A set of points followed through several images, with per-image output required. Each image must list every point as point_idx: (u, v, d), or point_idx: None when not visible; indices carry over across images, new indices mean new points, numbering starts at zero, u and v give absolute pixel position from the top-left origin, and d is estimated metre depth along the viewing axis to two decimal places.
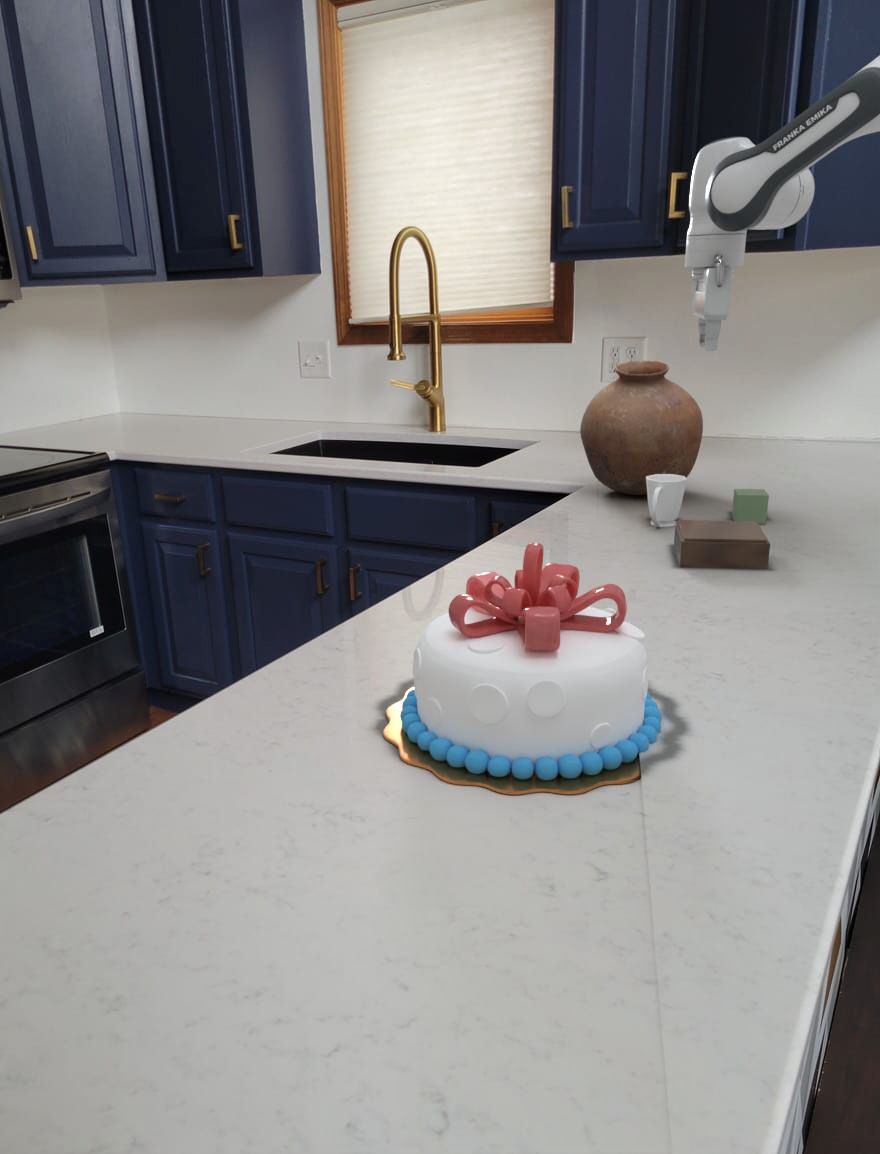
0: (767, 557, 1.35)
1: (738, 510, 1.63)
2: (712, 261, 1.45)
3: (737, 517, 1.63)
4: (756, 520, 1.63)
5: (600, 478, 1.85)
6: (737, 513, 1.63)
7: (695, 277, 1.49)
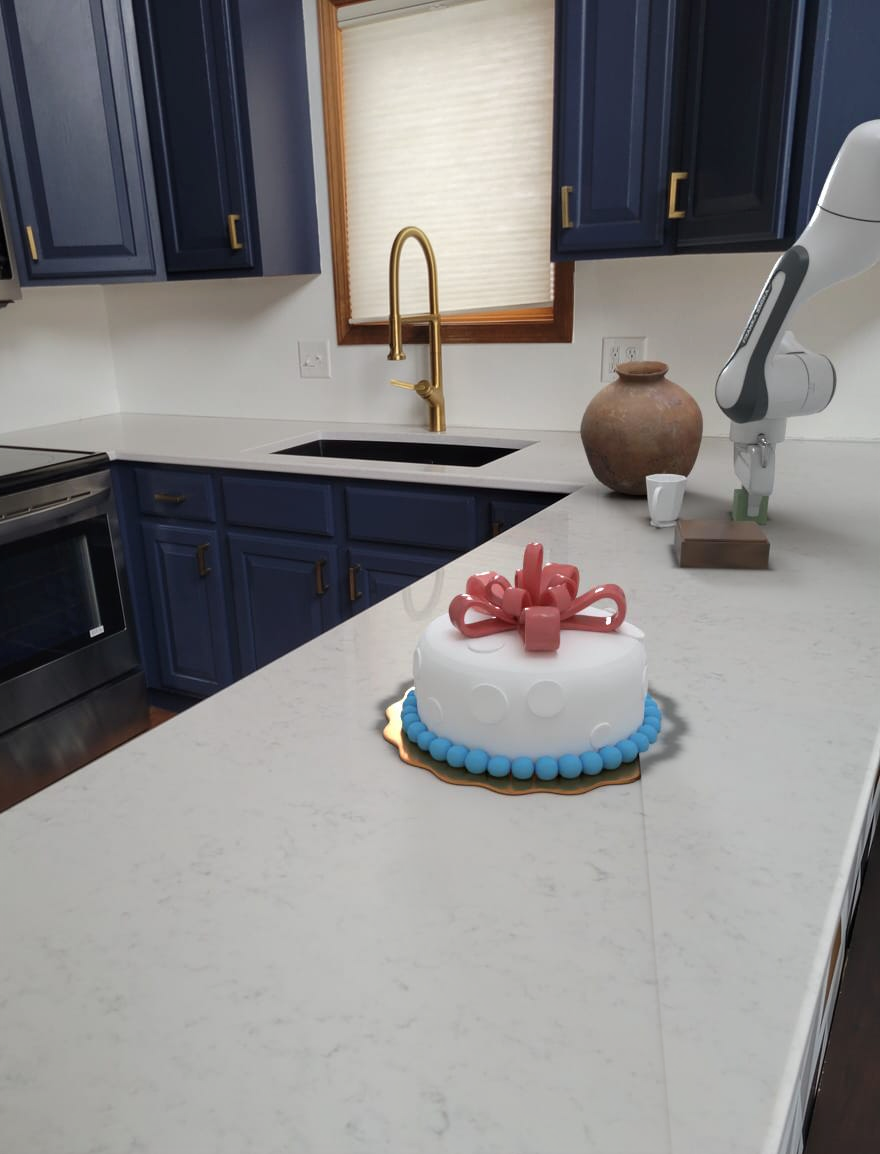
0: (767, 557, 1.35)
1: (738, 510, 1.63)
2: (756, 439, 1.57)
3: (737, 517, 1.63)
4: (756, 520, 1.63)
5: (600, 478, 1.85)
6: (737, 513, 1.63)
7: (739, 450, 1.60)
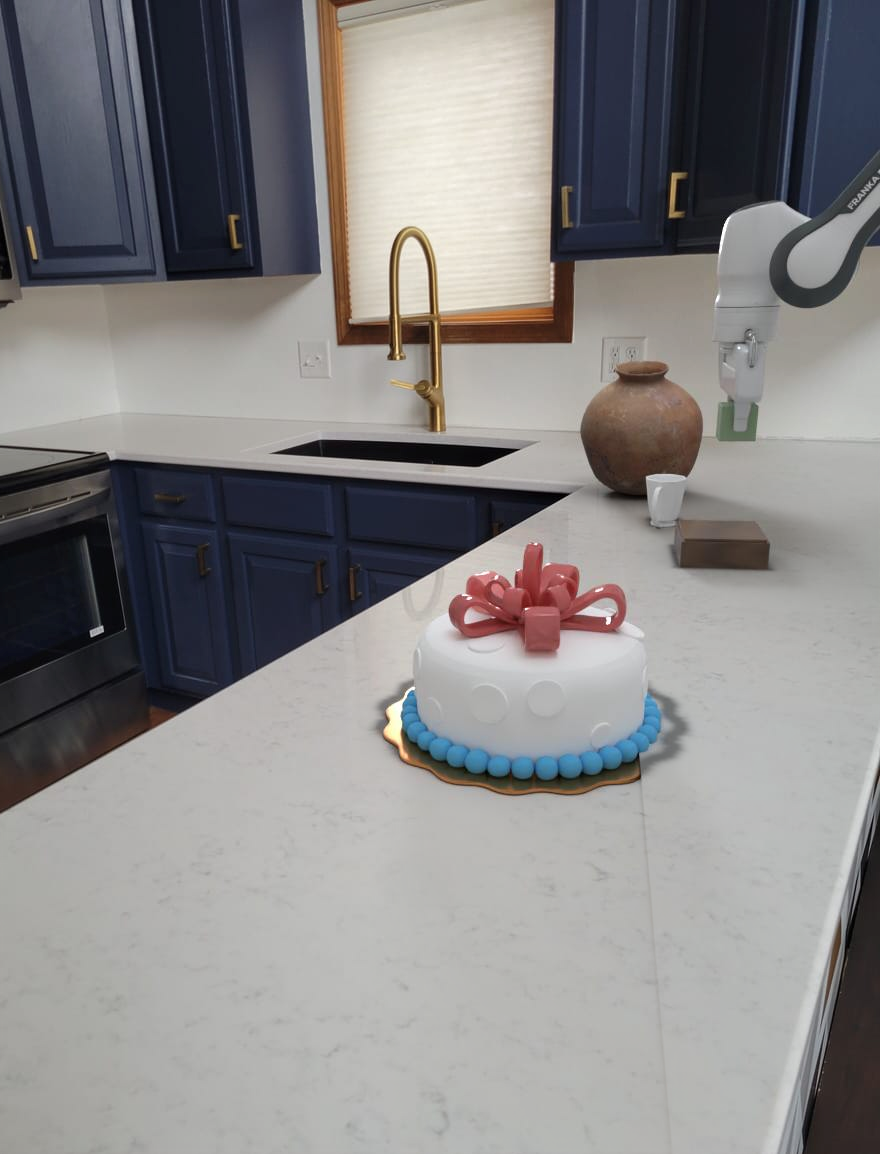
0: (767, 557, 1.35)
1: (722, 425, 1.38)
2: (743, 336, 1.31)
3: (721, 433, 1.38)
4: (744, 437, 1.38)
5: (600, 478, 1.85)
6: (721, 428, 1.38)
7: (724, 352, 1.35)
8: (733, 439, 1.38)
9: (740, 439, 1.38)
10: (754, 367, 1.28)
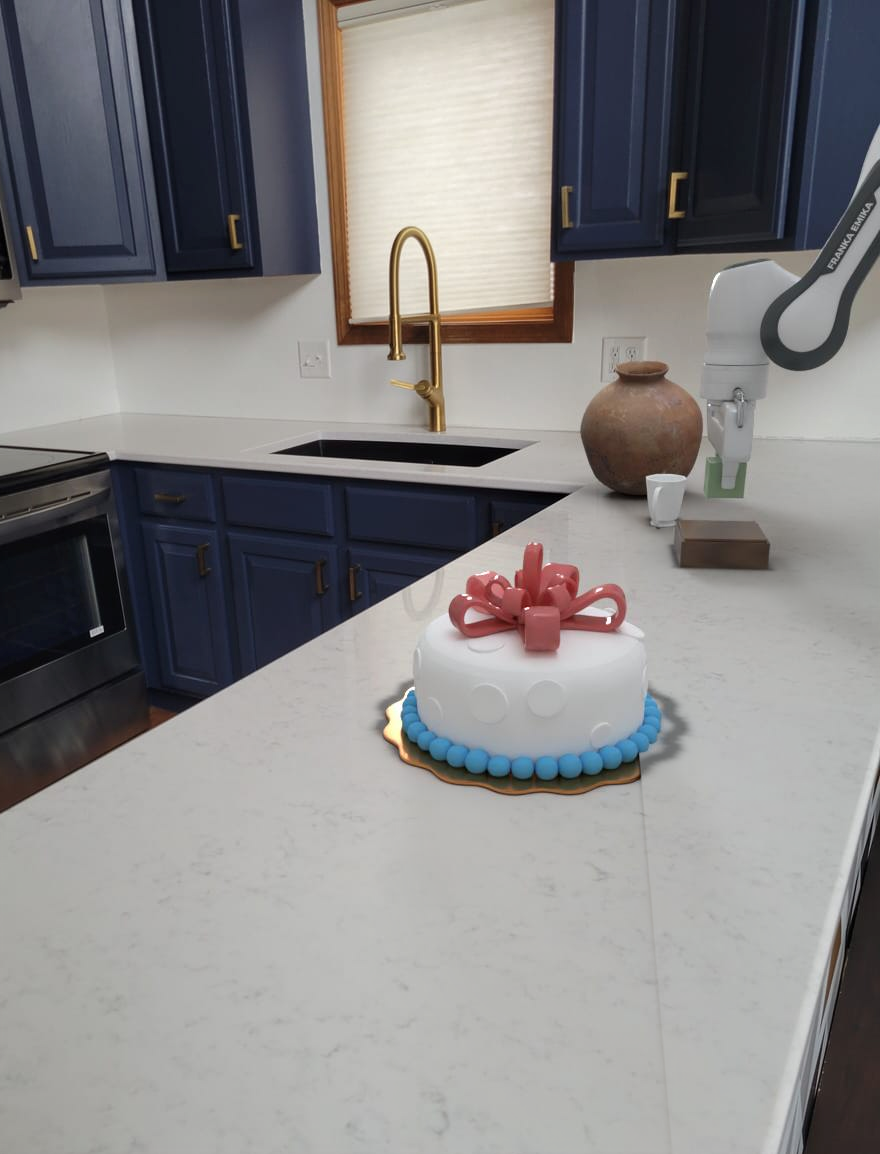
0: (767, 557, 1.35)
1: (710, 481, 1.36)
2: (731, 394, 1.30)
3: (709, 490, 1.36)
4: (732, 493, 1.36)
5: (600, 478, 1.85)
6: (709, 485, 1.36)
7: (712, 408, 1.33)
8: (721, 496, 1.36)
9: (728, 496, 1.36)
10: (742, 427, 1.26)
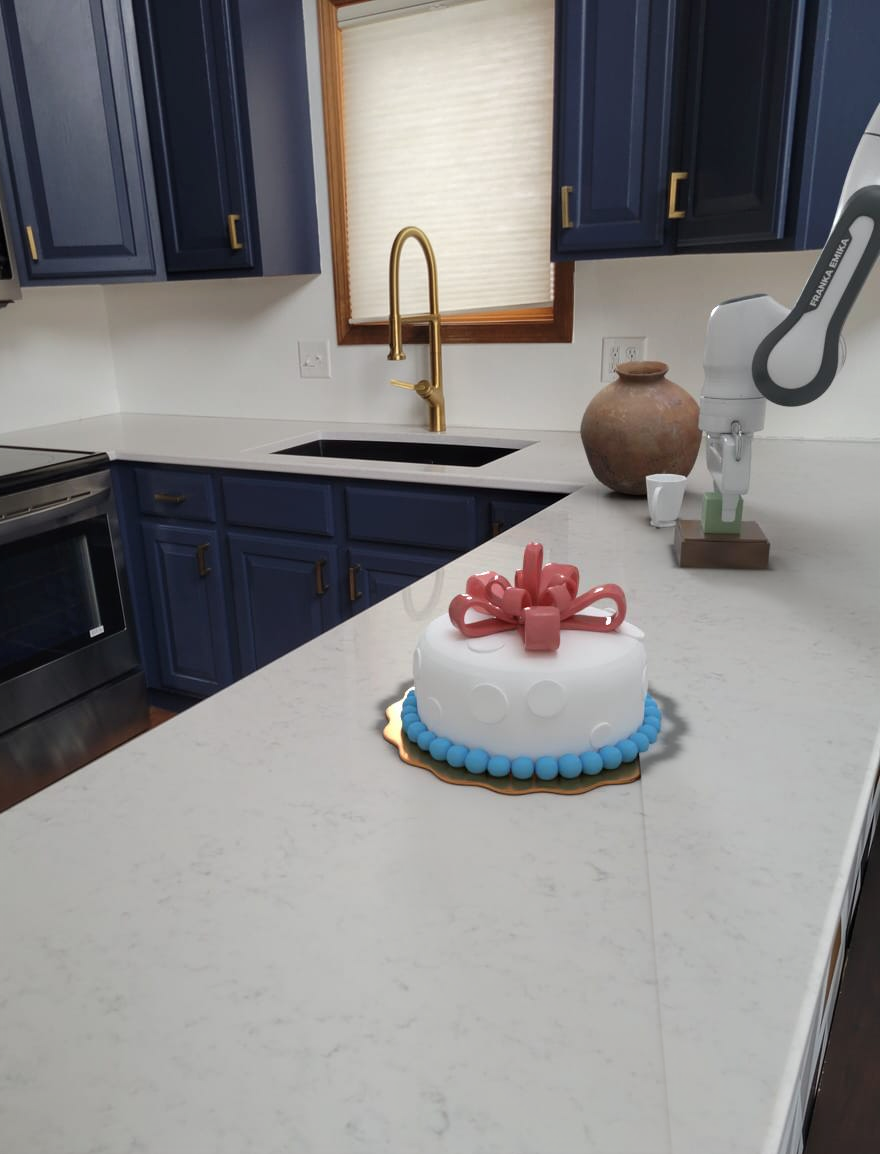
0: (767, 557, 1.35)
1: (707, 517, 1.38)
2: (729, 427, 1.31)
3: (706, 525, 1.38)
4: (729, 529, 1.38)
5: (600, 478, 1.85)
6: (706, 521, 1.38)
7: (710, 440, 1.35)
8: (718, 531, 1.38)
9: (725, 531, 1.38)
10: (740, 461, 1.27)
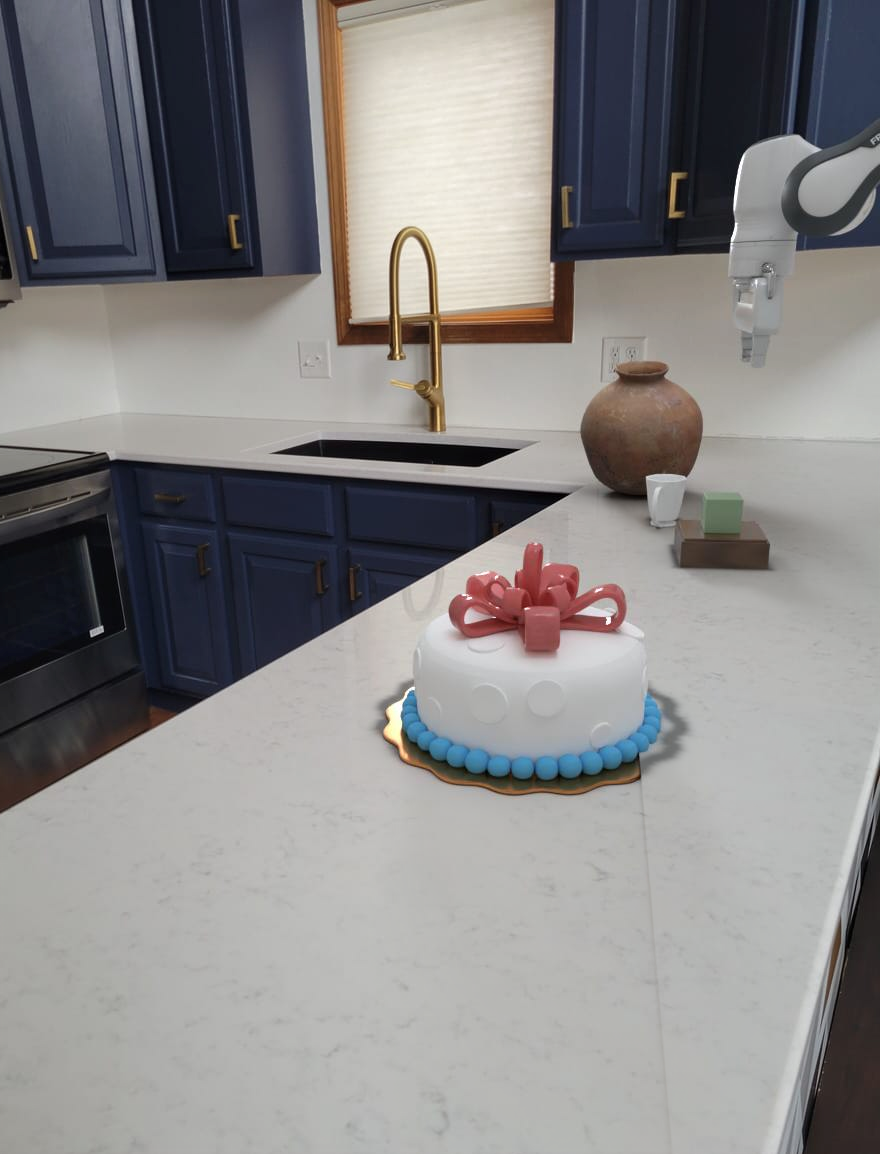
0: (767, 557, 1.35)
1: (707, 517, 1.38)
2: (760, 270, 1.33)
3: (706, 525, 1.38)
4: (729, 529, 1.38)
5: (600, 478, 1.85)
6: (706, 521, 1.38)
7: (740, 287, 1.37)
8: (718, 531, 1.38)
9: (725, 531, 1.38)
10: (772, 299, 1.29)
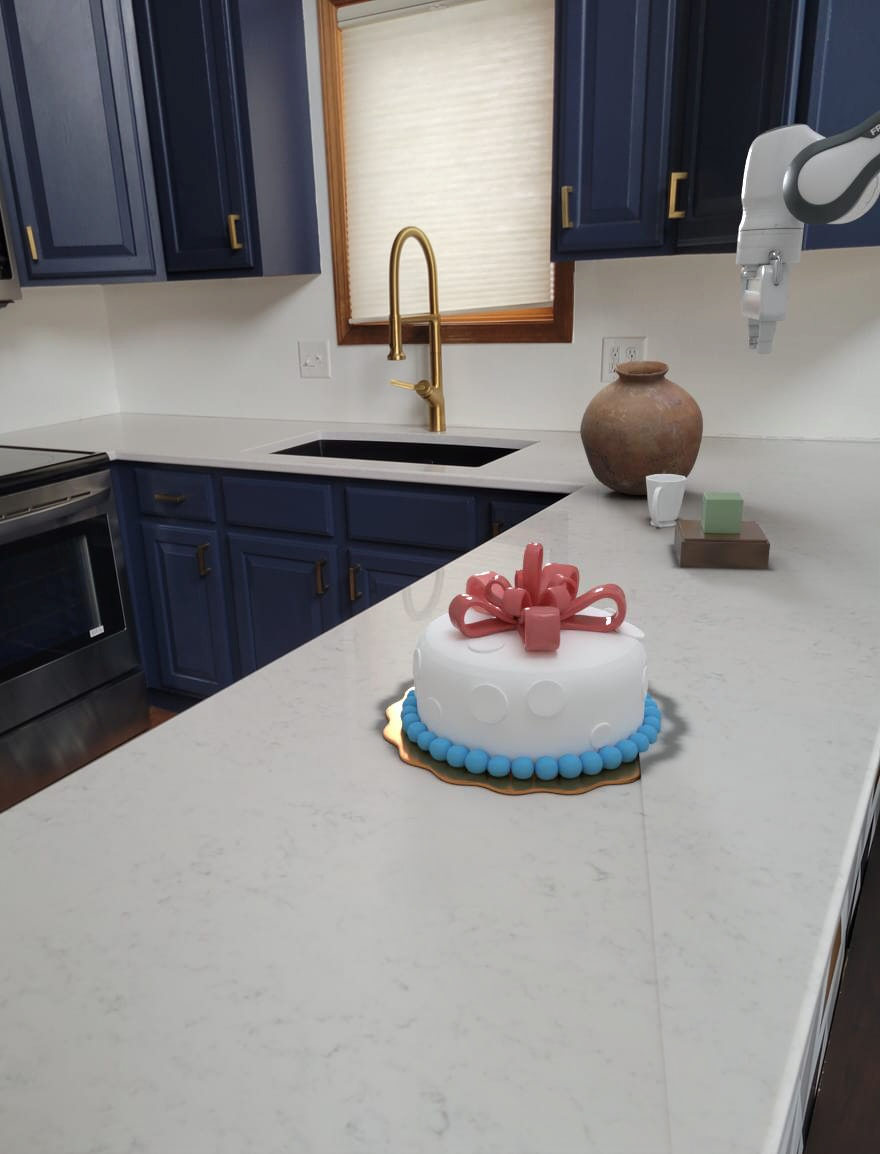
0: (767, 557, 1.35)
1: (707, 517, 1.38)
2: (767, 258, 1.36)
3: (706, 525, 1.38)
4: (729, 529, 1.38)
5: (600, 478, 1.85)
6: (706, 521, 1.38)
7: (747, 275, 1.39)
8: (718, 531, 1.38)
9: (725, 531, 1.38)
10: (779, 285, 1.32)
